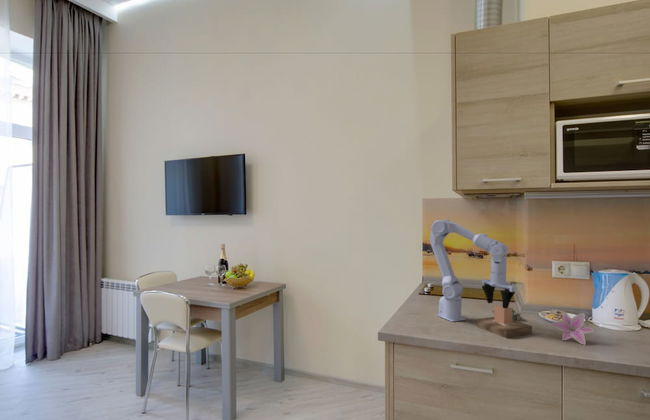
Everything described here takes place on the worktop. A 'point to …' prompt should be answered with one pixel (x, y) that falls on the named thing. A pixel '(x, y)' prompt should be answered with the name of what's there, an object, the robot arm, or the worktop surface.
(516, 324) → the walnut base
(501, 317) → the terracotta block
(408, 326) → the worktop surface
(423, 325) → the worktop surface
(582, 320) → the lily
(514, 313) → the egg carton
